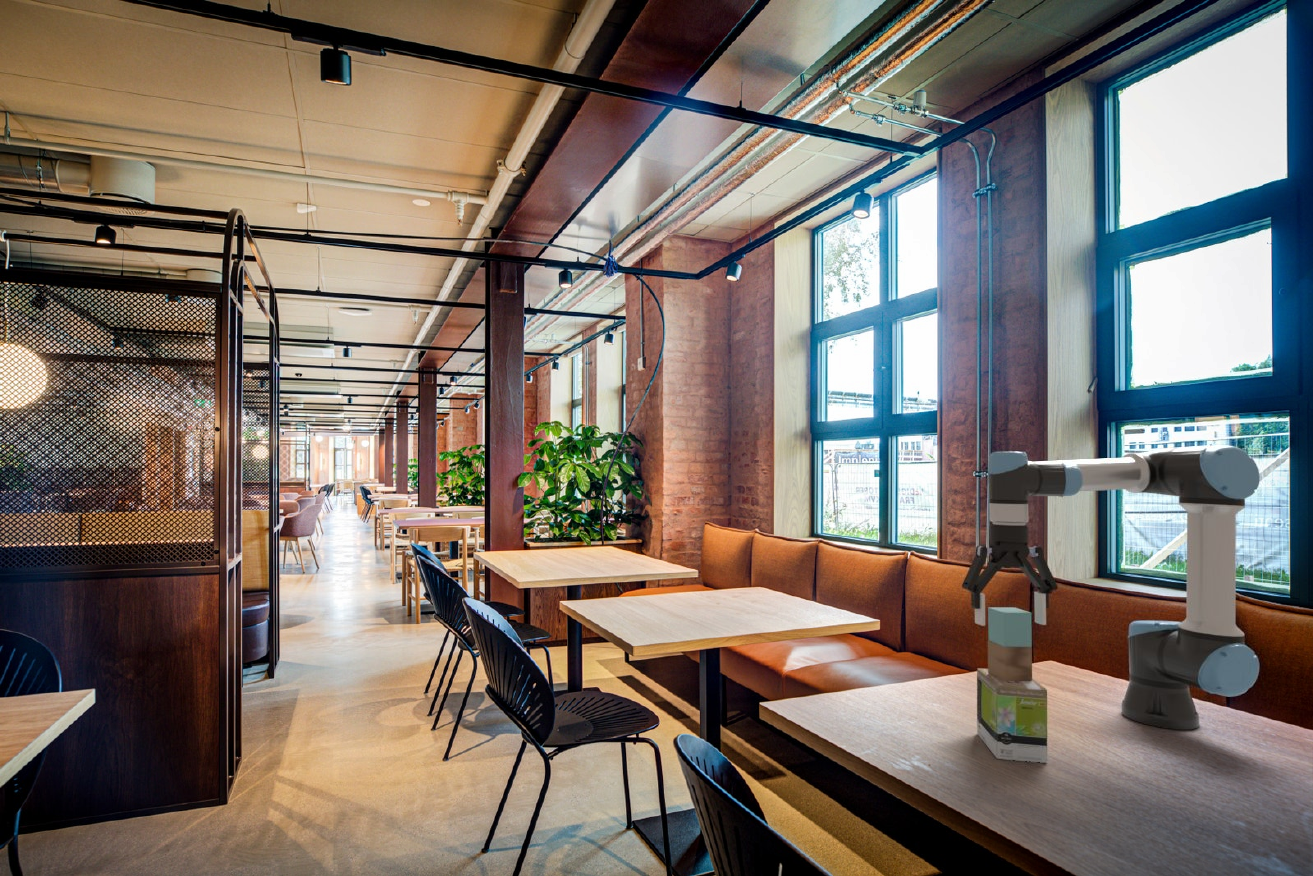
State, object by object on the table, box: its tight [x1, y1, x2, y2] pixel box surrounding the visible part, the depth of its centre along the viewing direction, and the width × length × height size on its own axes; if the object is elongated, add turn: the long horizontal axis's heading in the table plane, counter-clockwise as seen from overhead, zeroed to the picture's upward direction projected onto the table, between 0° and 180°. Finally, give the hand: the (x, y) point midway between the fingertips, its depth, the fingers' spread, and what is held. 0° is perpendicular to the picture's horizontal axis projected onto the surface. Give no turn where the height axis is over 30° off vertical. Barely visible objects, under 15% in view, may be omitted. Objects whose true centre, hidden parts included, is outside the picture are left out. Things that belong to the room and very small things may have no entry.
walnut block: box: [987, 640, 1033, 681], centre depth 150 cm, size 6×6×7 cm
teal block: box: [987, 606, 1033, 647], centre depth 151 cm, size 6×6×7 cm
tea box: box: [976, 667, 1048, 764], centre depth 150 cm, size 15×10×15 cm, turn 170°
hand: (1010, 624), depth 151 cm, fingers open, 13 cm apart
